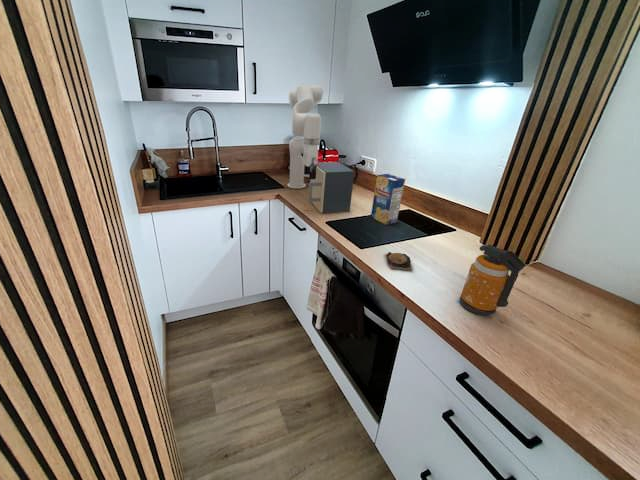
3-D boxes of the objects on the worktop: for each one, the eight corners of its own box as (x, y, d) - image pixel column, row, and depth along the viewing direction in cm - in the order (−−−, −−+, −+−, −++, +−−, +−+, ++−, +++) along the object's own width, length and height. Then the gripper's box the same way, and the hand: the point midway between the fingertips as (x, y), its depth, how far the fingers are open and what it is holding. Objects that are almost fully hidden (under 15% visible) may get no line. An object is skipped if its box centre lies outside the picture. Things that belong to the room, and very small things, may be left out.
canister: (466, 293, 90) (486, 237, 82) (507, 312, 82) (533, 253, 74) (453, 304, 85) (472, 245, 77) (495, 326, 77) (522, 264, 69)
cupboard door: (309, 213, 149) (311, 173, 140) (298, 199, 168) (300, 163, 159) (322, 213, 150) (325, 172, 141) (310, 199, 169) (312, 162, 161)
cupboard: (323, 213, 150) (326, 172, 141) (311, 199, 170) (313, 162, 161) (349, 211, 152) (354, 171, 143) (335, 198, 172) (338, 161, 163)
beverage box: (386, 225, 137) (394, 180, 128) (370, 216, 146) (377, 175, 137) (396, 222, 140) (405, 179, 131) (380, 214, 149) (387, 173, 140)
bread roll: (413, 272, 101) (415, 263, 99) (388, 269, 102) (390, 260, 101) (407, 256, 111) (409, 248, 109) (384, 254, 112) (386, 246, 110)
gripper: (299, 139, 143) (298, 172, 150) (309, 144, 128) (307, 181, 135) (313, 139, 145) (312, 172, 152) (324, 144, 129) (322, 180, 136)
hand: (309, 176), depth 143 cm, fingers open, 9 cm apart
